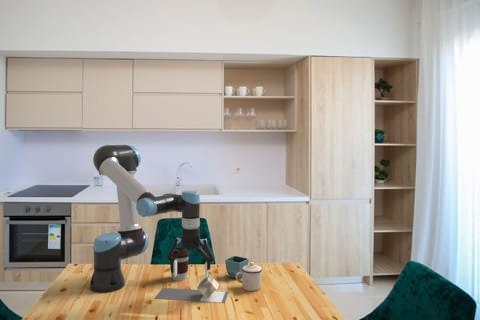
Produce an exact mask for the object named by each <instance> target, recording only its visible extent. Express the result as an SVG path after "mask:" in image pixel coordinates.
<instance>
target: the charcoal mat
mask: <svg viewBox="0 0 480 320" xmlns="http://www.w3.org/2000/svg"><path fill="white" fill-rule="evenodd" d="M229 294H230V292H229V291H227V290H226V291H223V290H221V291H220V290H216V291H215V292H214V293H213V294H211V295H210V296H209V297H208V298H207V299H206V298H205V297H204V295H203V294H202V293H201V292H200V291H199V290H198V289H193V288H174V287H162V288H161V289H160V291H159V292H158V293H157V294H156V296H154V298H153V299H154V300H166V301H167V300H168V301H170V300H171V301H182V302H183V301H186V302H188V301H189V302H201V303H203V302H204V303H215V304H216V303H217V304H226V301H227V298H228V295H229Z"/></svg>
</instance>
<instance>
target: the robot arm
mask: <svg viewBox="0 0 480 320" xmlns="http://www.w3.org/2000/svg"><path fill="white" fill-rule="evenodd" d="M93 154H94V155H93V157H92V158H93V159H92V161H93V165H94V168H95V169H96V171H97V172H98V173H99V174H101V176H104V177H107V178H108V179H109V180H110V181H111V182H112V183H113V184H114V185H116V193H117V195H116V196H117V205H118V213H119V215H118V216H119V224H120V225H119V228H117V232H109V233H108V232H106V233H103V234H100V235H98V236H96V237H95V239H94V240H93V241H94V242H93V247H92V249H93V272H92V276H91V279H90V281H89V289H90V291H93V292H95V293H110V292H114V291H119V290H121V289H122V288H123V287H125V284H126V280H125V276H124V274H123V271H122V268H121V267H122V265H121V264H122V261H123V260H125V259H129V258H132V257H137V256H139V255H141V254H144V253H145V252H146V250H147V249H148V247H149V243H150V242H149V241H150V240H149V235H148V234H147V231H145V230H143V226H142V225H140V223H139V216H140V217H142V218H146V217H147V218H148V217H154V216H157V215H162V214H169V213H172V212H178V213H181V227H182V228H181V238H180V237H176V238H175V239H174V241H173V242H174V243H173V245H172V247H171V249H170V251H169V252H170V253H169V252H168V256H167V257H166V259H167V260H169V261H170V260H171V267H172V268H174V277H176V275H177V260H175V259H176V258H177V256H178V255H179V254H180V253H181V252H182V251H183V250H184V248H186V249H187V250H192V251H193V250H196V251H197V252H198V253H199V254H200V255H201V256H202V258H203V259H204V260H205V262H204V263H205V264H204V279H205V278H207V277H208V275H209V271H210V270H211V262H214V261H215V259H216V258H215V256H214V254H213V252H212V250H211V247H210V245H209V242H208V238H207V237H206V238H204V239H201V237H200V235H201V233H200V232H201V231H200V226H201V222H200V221H201V220H200V218H201V217H200V214H201V213H200V211H201V210H200V207H201V206H200V204H201V198H200V197H201V196H200V193H199V191H197V190H184V191H182V193H181V194H179V193H178V194H176V193H171V192H170V193H167V192H166V193H164V194H162V195H159V196H158V195H157V196H156V195H154V194H153V193H151V192H150V190H149V189H147V188H146V186H144V185H143V184H141V182H139V180H137V179H136V178H135V174H136V172H138V171H137V168H139V166H140V164H141V161H142V160H141V158H142V157H141V154H140V151H139V149H137V148H136V147H135V146H134V145H129V144H105V145H102V146H100V147H99V148H98V149H96V150H95V152H94V153H93ZM180 243H181V244H182V246H180V247H181V249H180V250H179V251H178V252H177V253H176V254H175V256H174V257H172V255H173V253H174V251H175V249H176V247H178V245H179V244H180ZM200 244H202V245H203V246H204V249H205V250H206V252H207V253H206V252H205V251H204V249H203V247H202V246H201V245H200Z"/></svg>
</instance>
